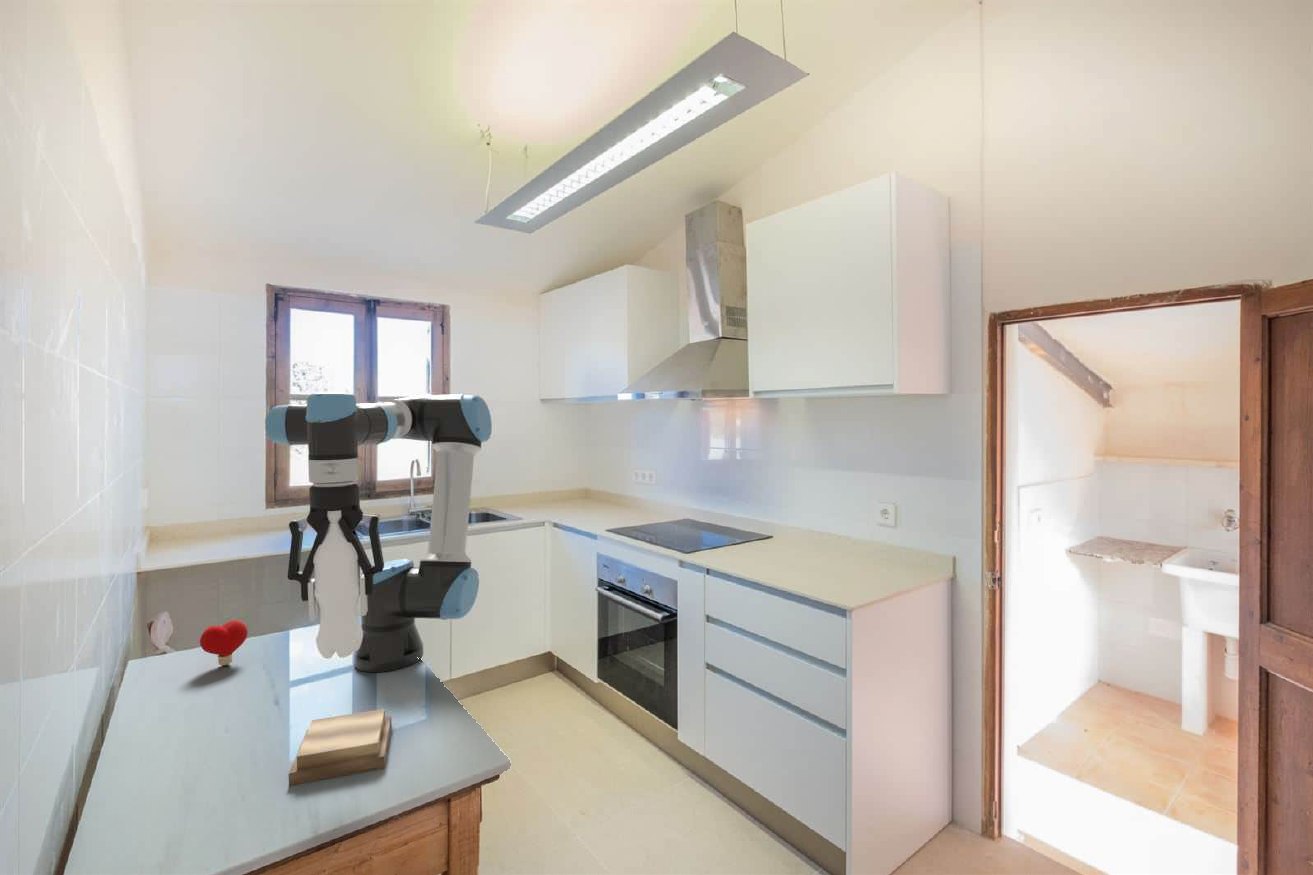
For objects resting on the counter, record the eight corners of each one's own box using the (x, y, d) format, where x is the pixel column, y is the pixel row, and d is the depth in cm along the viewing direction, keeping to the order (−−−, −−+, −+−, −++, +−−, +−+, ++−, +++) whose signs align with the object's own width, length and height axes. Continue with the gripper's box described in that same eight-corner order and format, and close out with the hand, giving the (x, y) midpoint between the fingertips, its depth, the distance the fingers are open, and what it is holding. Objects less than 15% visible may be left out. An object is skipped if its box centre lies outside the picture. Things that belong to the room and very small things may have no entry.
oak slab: (312, 730, 109) (312, 720, 109) (385, 719, 113) (384, 708, 113) (297, 768, 98) (296, 756, 98) (378, 754, 102) (377, 742, 102)
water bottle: (355, 641, 109) (350, 504, 108) (369, 653, 104) (364, 509, 103) (311, 653, 104) (305, 509, 103) (323, 665, 99) (318, 515, 98)
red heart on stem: (242, 655, 147) (240, 615, 146) (254, 662, 143) (252, 621, 142) (196, 669, 140) (194, 626, 139) (207, 677, 135) (205, 633, 135)
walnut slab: (307, 739, 110) (307, 729, 110) (391, 725, 114) (391, 715, 114) (288, 785, 97) (288, 773, 96) (384, 767, 101) (384, 756, 101)
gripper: (259, 489, 96) (265, 630, 97) (396, 483, 103) (400, 615, 104) (272, 483, 103) (277, 615, 104) (399, 478, 110) (403, 602, 111)
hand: (339, 615), depth 104 cm, fingers closed on water bottle, 7 cm apart
